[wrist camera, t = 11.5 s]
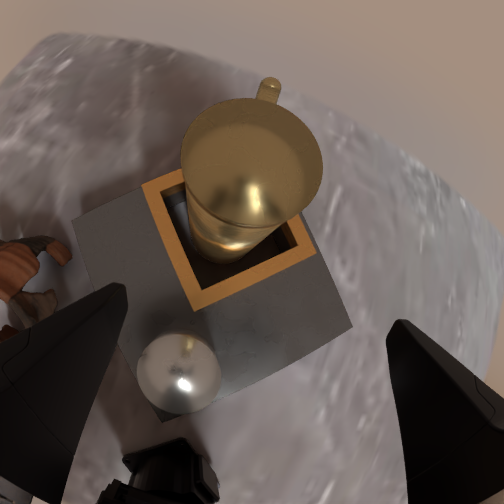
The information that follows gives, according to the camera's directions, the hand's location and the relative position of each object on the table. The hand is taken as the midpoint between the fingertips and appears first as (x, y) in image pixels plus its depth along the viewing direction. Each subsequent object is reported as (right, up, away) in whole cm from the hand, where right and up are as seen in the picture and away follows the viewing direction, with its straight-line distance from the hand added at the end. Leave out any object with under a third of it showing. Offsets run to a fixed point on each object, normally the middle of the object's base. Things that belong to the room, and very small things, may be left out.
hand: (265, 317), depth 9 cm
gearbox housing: (-4, 0, +13) cm, 13 cm away
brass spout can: (-2, +5, +14) cm, 15 cm away
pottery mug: (-19, -1, +10) cm, 22 cm away
